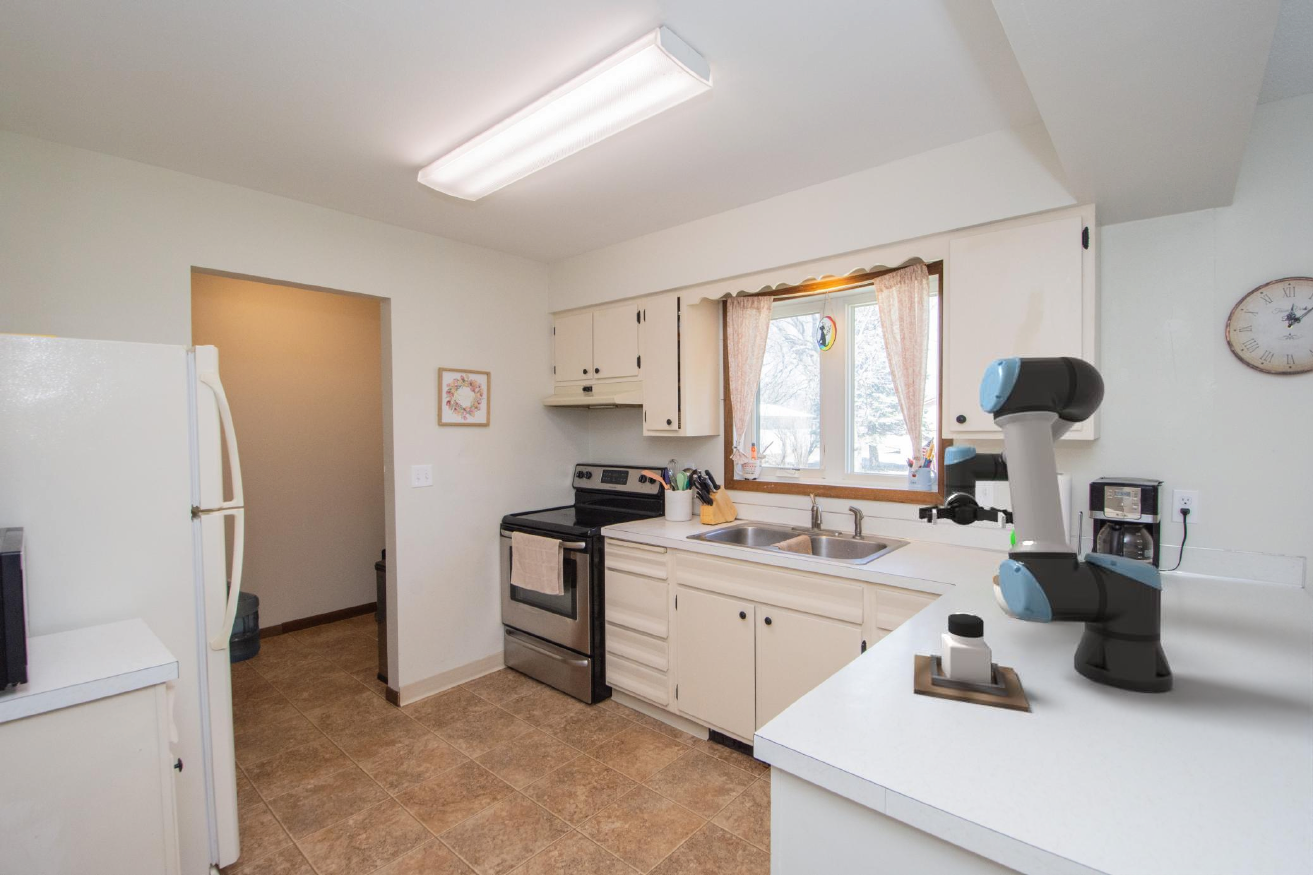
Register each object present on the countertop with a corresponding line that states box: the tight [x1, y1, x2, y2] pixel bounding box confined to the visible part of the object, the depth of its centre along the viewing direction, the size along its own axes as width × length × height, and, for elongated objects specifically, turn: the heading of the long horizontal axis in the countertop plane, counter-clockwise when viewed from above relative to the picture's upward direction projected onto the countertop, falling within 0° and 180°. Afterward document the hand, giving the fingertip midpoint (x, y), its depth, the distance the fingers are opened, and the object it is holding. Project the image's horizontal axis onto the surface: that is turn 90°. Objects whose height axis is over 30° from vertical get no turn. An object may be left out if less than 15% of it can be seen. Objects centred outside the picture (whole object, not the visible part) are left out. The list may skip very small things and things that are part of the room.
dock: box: [913, 654, 1029, 713], centre depth 113 cm, size 18×18×2 cm
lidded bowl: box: [992, 574, 1023, 620], centre depth 153 cm, size 13×13×11 cm
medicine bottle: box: [941, 612, 992, 684], centre depth 113 cm, size 7×7×12 cm
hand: (968, 520), depth 131 cm, fingers open, 13 cm apart
